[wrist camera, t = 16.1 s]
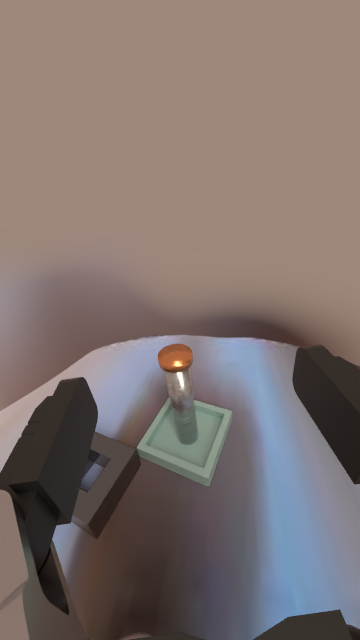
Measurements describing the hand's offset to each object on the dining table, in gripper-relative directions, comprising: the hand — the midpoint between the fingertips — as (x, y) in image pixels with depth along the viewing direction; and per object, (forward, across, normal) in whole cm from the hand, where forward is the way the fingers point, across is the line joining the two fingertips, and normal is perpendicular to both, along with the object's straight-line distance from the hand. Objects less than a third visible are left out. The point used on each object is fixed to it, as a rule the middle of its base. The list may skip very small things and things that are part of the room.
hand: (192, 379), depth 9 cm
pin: (+19, +1, +30) cm, 36 cm away
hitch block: (+14, +16, +31) cm, 38 cm away
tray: (+19, +2, +31) cm, 37 cm away
